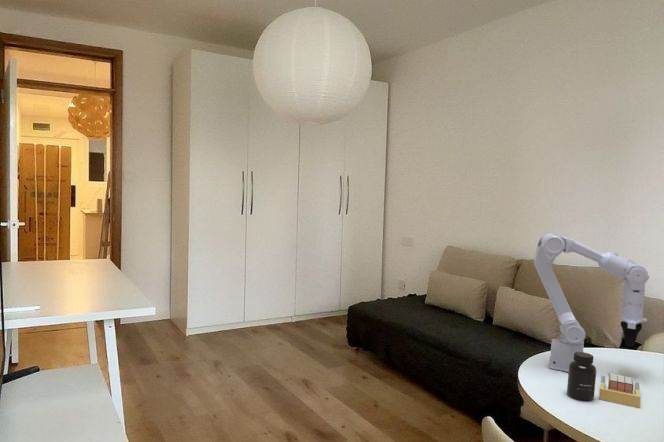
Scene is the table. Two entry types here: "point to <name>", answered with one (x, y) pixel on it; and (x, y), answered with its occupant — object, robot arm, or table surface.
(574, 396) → the supplement bottle
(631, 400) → the tube holder
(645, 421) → the table surface
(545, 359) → the table surface
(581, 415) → the table surface
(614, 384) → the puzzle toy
